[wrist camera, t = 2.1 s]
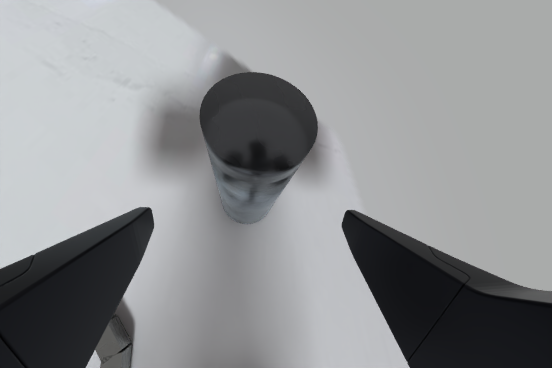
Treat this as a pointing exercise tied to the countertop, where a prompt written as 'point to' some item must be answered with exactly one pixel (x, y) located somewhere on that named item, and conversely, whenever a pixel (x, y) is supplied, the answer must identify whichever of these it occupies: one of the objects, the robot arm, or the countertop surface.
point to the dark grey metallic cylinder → (255, 140)
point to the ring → (114, 346)
